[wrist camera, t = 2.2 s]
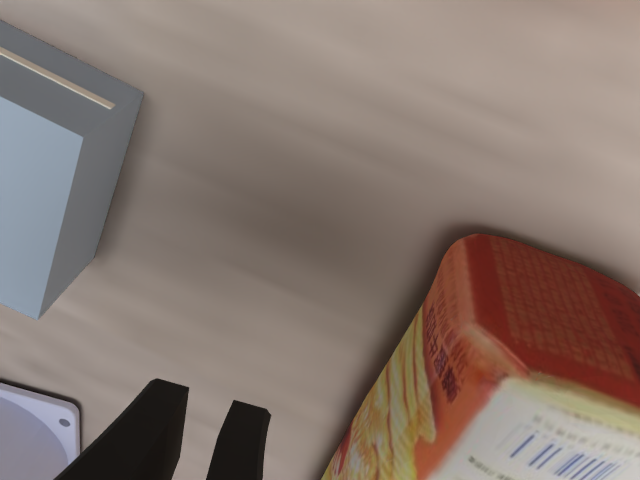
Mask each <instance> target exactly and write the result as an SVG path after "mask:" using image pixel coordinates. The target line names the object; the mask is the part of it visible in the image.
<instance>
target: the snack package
mask: <svg viewBox="0 0 640 480" xmlns="http://www.w3.org/2000/svg"><path fill="white" fill-rule="evenodd" d="M321 480H640V297H639V296H638V295H637V294H636V293H634V292H633V291H632V290H630V289H629V288H627V287H626V286H624V285H623V284H621V283H619V282H617V281H615V280H613V279H611V278H609V277H607V276H605V275H603V274H601V273H599V272H597V271H595V270H593V269H591V268H588V267H586V266H584V265H582V264H579V263H576V262H573V261H571V260H568V259H565V258H562V257H559V256H556V255H553V254H550V253H547V252H545V251H542V250H539V249H536V248H534V247H531V246H529V245H526V244H524V243H521V242H518V241H515V240H512V239H508V238H504V237H499V236H493V235H486V234H478V233H476V234H472V235H469V236H466V237H464V238H461V239H459V240H457V241H456V242H455V243H454V244H452V245H451V246H450V248H449V249H448V250H447V252H446V253H445V255H444V257H443V259H442V261H441V264H440V266H439V269H438V272H437V274H436V277H435V279H434V282H433V284H432V286H431V289H430V291H429V293H428V294H427V296H426V298H425V300H424V302H423V304H422V306H421V307H420V309H419V311H418V312H417V314H416V316H415V318H414V319H413V321H412V323H411V324H410V326H409V328H408V329H407V331H406V333H405V334H404V336H403V338H402V339H401V341H400V343H399V344H398V346H397V348H396V349H395V351H394V352H393V354H392V356H391V358H390V359H389V361H388V363H387V364H386V366H385V367H384V369H383V371H382V372H381V374H380V375H379V377H378V379H377V380H376V382H375V384H374V385H373V387H372V388H371V390H370V392H369V393H368V395H367V396H366V398H365V400H364V401H363V403H362V405H361V407H360V409H359V411H358V412H357V414H356V416H355V417H354V419H353V420H352V422H351V423H350V425H349V427H348V429H347V431H346V433H345V435H344V437H343V439H342V441H341V443H340V445H339V447H338V449H337V451H336V452H335V454H334V456H333V458H332V459H331V461H330V463H329V465H328V467H327V469H326V471H325V473H324V475H323V477H322V479H321Z"/></svg>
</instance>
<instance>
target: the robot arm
mask: <svg viewBox="0 0 640 480" xmlns="http://www.w3.org/2000/svg"><path fill="white" fill-rule="evenodd" d="M188 393H189V387H186V386H182V385H179V384H175V383H172V382H168V381H165V380H161V379H154V380H152V381H150V382H149V383H148V384H147V386H146V387H145V388H144V389H143V390H142V392H141V393H140V394H139V395H138V396H137V397H136V398H135V399H134V400H133V402H132V403H131V404H130V405H129V406H128V407H127V408H126V409H125V410H124V411H123V412H122V413H121V414H120V416H119V417H118V418H117V419H116V420H115V421H114V422H113V423H112V424H111V425H110V426H109V427H108V428H107V429H106V430H105V431H104V432H103V433H102V434H101V435H100V436H99V437H98V438H97V439H96V440H95V441H94V442H93V443H92V444H91V445H90V446H88V447H87V448H86V449H85V450H84V451H83V452H82V453H81V454H80V432H79V410H78V408H77V407H76V406H75V405H74V404H72V403H70V402H67V401H63V400H60V399H56V398H53V397H49V396H46V395H42V394H38V393H35V392H31V391H28V390H24V389H21V388H17V387H14V386H10V385H7V384H3V383H0V480H171V479H172V476H173V474H174V471H175V468H176V466H177V463H178V460H179V458H180V452H181V445H182V437H183V430H184V422H185V415H186V407H187V400H188ZM270 418H271V414H270V413H269V412H268V410H267V409H265V408H261V407H257V406H254V405H250V404H247V403H243V402H240V401H236V400H233V403H232V405H231V407H230V409H229V412H228V414H227V416H226V419H225V421H224V423H223V426H222V428H221V430H220V433H219V435H218V438H217V442H216V445H215V449H214V452H213V456H212V460H211V463H210V467H209V471H208V474H207V478H206V480H262V479H263V462H264V451H265V443H266V436H267V431H268V425H269V422H270Z"/></svg>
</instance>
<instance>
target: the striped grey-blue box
mask: <svg viewBox="0 0 640 480" xmlns="http://www.w3.org/2000/svg"><path fill="white" fill-rule="evenodd" d="M143 95H144V93H143V92H141V91H140V90H138V89H136V88H134V87H132V86H130V85H128V84H126V83H124V82H122V81H120V80H118V79H116V78H114V77H112V76H110V75H108V74H106V73H104V72H102V71H100V70H98V69H96V68H94V67H92V66H90V65H88V64H86V63H84V62H82V61H80V60H78V59H76V58H75V57H73V56H71V55H69V54H67V53H65V52H63V51H61V50H59V49H57V48H55V47H53V46H51V45H49V44H47V43H45V42H43V41H41V40H39V39H37V38H35V37H33V36H31V35H29V34H27V33H25V32H23V31H21V30H19V29H17V28H15V27H13V26H12V25H10V24H8V23H6V22H4V21H2V20H0V304H2V305H5V306H7V307H9V308H11V309H14V310H16V311H18V312H20V313H22V314H25V315H27V316H29V317H31V318H33V319H36V320H38V319H39V318H40V317H41V316H42V315H43V314H44V313H45V312H46V311H47V309H48V308H49V307H50V306H51V305H52V304H53V303H54V302H55V300H56V299H57V298H58V297H59V296H60V295H61V294H62V293H63V292H64V290H65V289H66V288H67V287H68V286H69V285H70V284H71V283H72V281H73V280H74V279H75V278H76V277H77V276H78V275H79V274H80V273H81V271H82V270H83V269H84V268H85V267H86V266H87V265H88V264H89V262H90V261H91V260H92V259H93V258H94V256H95V253H96V250H97V247H98V243H99V240H100V237H101V233H102V230H103V227H104V223H105V220H106V217H107V214H108V210H109V207H110V204H111V200H112V197H113V194H114V191H115V187H116V184H117V181H118V177H119V174H120V171H121V167H122V164H123V161H124V158H125V154H126V151H127V148H128V144H129V141H130V138H131V135H132V131H133V128H134V125H135V121H136V118H137V115H138V111H139V108H140V105H141V102H142V98H143Z"/></svg>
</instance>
